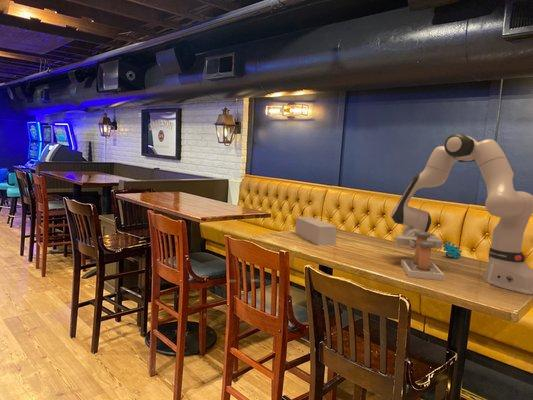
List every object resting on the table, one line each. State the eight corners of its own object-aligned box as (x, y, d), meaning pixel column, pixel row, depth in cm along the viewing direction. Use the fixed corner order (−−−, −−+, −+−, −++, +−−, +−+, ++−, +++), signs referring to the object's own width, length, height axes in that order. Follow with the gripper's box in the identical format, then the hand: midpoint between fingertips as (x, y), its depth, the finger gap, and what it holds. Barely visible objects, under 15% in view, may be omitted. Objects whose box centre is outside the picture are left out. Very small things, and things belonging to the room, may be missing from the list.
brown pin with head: (430, 264, 179) (433, 233, 178) (420, 266, 176) (423, 234, 174) (418, 260, 185) (421, 230, 183) (408, 262, 182) (411, 231, 180)
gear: (447, 256, 206) (442, 239, 213) (440, 262, 211) (435, 245, 217) (466, 259, 209) (460, 243, 215) (458, 264, 213) (453, 248, 220)
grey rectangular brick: (335, 245, 225) (336, 226, 224) (318, 246, 222) (319, 226, 220) (310, 233, 255) (311, 217, 254) (295, 234, 252) (296, 217, 250)
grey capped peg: (434, 275, 172) (437, 243, 170) (424, 277, 169) (427, 244, 167) (421, 271, 178) (424, 240, 176) (411, 273, 174) (414, 241, 173)
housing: (400, 266, 188) (401, 259, 187) (432, 269, 186) (432, 262, 185) (408, 279, 168) (409, 271, 168) (443, 282, 166) (444, 274, 166)
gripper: (393, 230, 193) (398, 236, 180) (438, 234, 190) (446, 240, 176) (392, 243, 194) (396, 250, 180) (437, 247, 191) (444, 254, 177)
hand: (421, 245), depth 178 cm, fingers closed on brown pin with head, 4 cm apart
